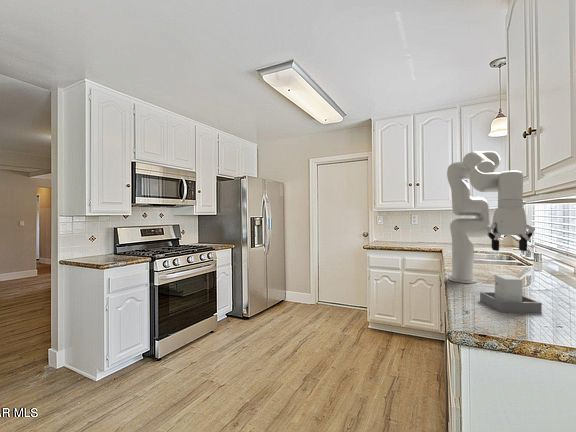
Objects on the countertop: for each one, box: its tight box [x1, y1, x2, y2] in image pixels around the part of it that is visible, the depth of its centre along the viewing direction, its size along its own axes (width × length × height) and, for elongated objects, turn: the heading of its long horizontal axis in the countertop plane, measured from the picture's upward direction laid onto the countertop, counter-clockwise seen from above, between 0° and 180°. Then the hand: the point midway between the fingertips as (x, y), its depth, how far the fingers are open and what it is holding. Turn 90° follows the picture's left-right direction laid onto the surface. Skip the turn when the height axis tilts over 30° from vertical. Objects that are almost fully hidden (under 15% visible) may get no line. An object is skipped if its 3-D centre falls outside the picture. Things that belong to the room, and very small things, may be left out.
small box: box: [494, 274, 523, 302], centre depth 116 cm, size 8×6×10 cm
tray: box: [479, 291, 543, 314], centre depth 116 cm, size 14×14×4 cm
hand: (509, 250), depth 116 cm, fingers open, 9 cm apart
